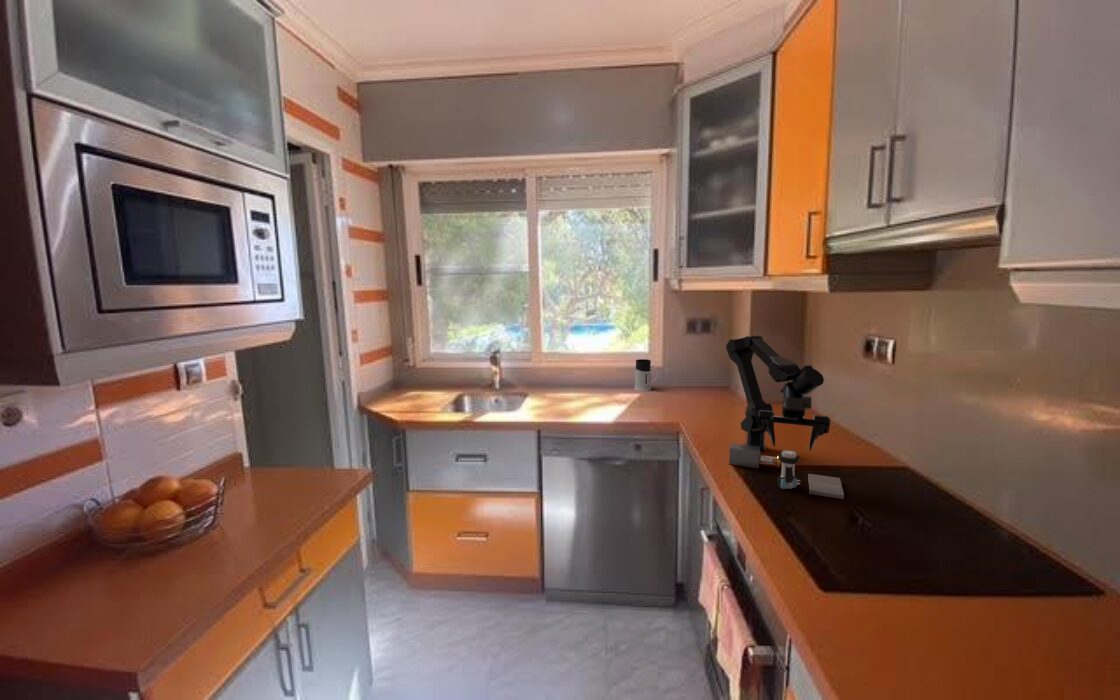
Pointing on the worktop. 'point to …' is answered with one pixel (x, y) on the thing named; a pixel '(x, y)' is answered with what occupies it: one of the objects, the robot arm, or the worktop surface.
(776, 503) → the worktop surface
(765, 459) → the press pin
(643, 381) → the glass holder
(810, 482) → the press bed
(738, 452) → the block
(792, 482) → the push button
